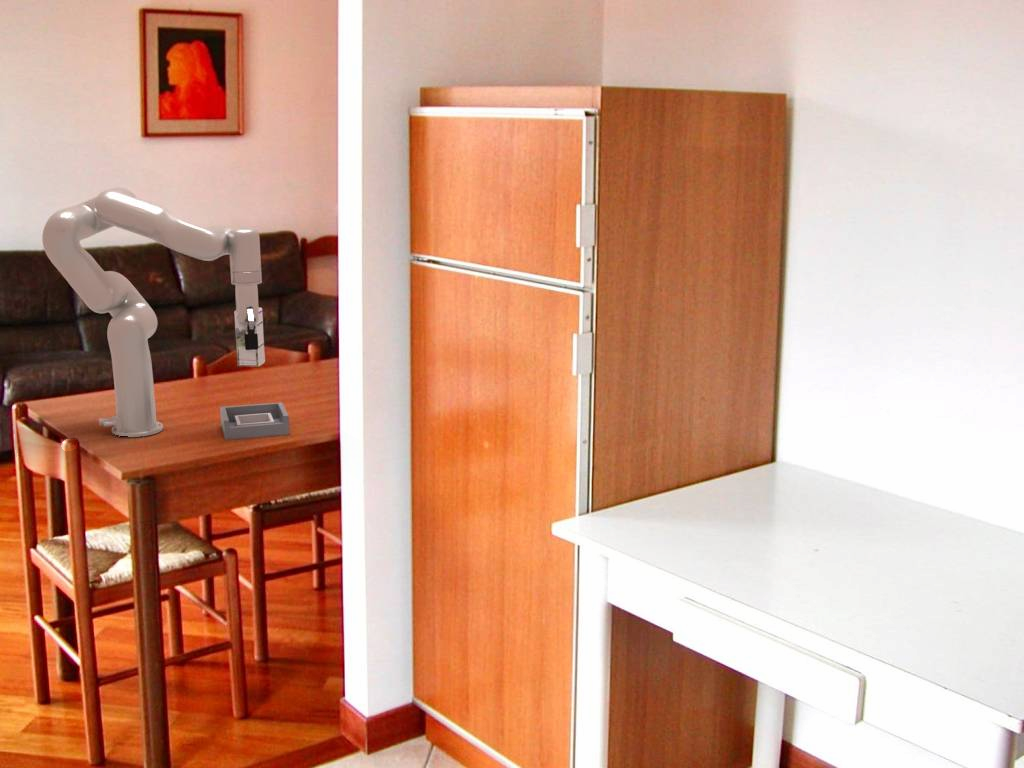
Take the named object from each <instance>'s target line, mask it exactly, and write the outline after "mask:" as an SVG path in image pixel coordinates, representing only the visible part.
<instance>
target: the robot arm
mask: <svg viewBox="0 0 1024 768" xmlns="http://www.w3.org/2000/svg"><path fill="white" fill-rule="evenodd" d="M114 227H116V228H119V229H122V230H123V231H128V232H131V233H133V234H137V235H139V236H142V237H145V238H147V239H151V240H153V241H155V242H156V243H158V244H160V245H162V246H164V247H166V248H168V249H170V250H173V251H175V252H177V253H180V254H183V255H186V256H188V257H192V258H194V259H197V260H201V261H204V262H205V261H208V262H211V261H214V260H217V259H219V258H220V257H223V256H226V255H229V266H230V283H231V285H234V286H235V288H234V289H235V309H237V312H238V323H239V324H242V323H243V322H244V325H245V334H244V336H245V349H246V350H256V349H258V334H257V329H256V323H257V322H258V308H259V289H258V285H259V284H262V283H263V279H262V277H263V276H262V261H261V243H260V242H261V241H260V232H259V230H258V229H256V228H254V227H247V226H246V227H236V228H235V227H234V228H233V227H226V226H224V227H223V226H216V225H215V226H209V227H208V228H202V227H198V226H196V225H193V224H189V223H188V222H184V221H183V220H180V219H178V218H177V217H175V216H174V215H173V214H172V213H171V212H170V211H169V210H168V209H167V208H166V207H164V206H162V205H159V204H156V203H153V202H151V201H147V200H145V199H142V198H139V197H136V194H134V193H133V191H131V190H130V189H128V188H125V187H113V188H109V189H106V190H103V191H101V192H100V193H99V194H98V195H97V196H95V197H93V198H91V199H88V200H85V201H82V202H80V203H78V204H76V205H72V206H69V207H65V208H62V209H60V210H57V211H56V212H54V213H53V214H52V215H50V216H49V218H48V219H47V220H46V222H45V225H44V228H43V230H42V236H41V237H42V238H41V239H42V241H41V242H42V246H43V250H44V252H45V254H46V256H47V258H48V259H49V260H50V262H51V264H53V266H54V267H55V268H56V269H57V271H58V272H59V273H60V274H61V276H62V277H63V278H64V279H65V280H66V281H67V283H68V284H69V286H70V287H71V288H72V289H73V290H74V292H75V293H76V294H77V295H78V296H79V298H80V299H81V300H82V301H83V303H84V304H85V305H86V306H87V308H89V309H90V310H91V311H92V312H94V313H97V314H107V313H109V314H110V316H111V317H112V318H111V320H110V321H109V323H108V326H107V330H106V331H107V332H106V333H107V335H106V336H107V341H108V346H109V350H110V356H111V367H112V374H113V384H114V385H113V386H114V397H115V407H116V413H115V415H112V416H111V417H100V418H99V417H98V425H99V427H102V426H103V427H104V428H105V427H106V428H107V427H108V428H109V427H112V428H111V434H112V435H114V434H115V435H114V436H116V435H119V436H118V437H120V436H128V437H127V438H139V437H141V436H142V437H147V436H153V435H156V434H158V433H160V432H161V431H163V429H164V424H163V423H162V422H160V421H158V420H157V414H156V401H155V389H154V375H153V366H152V365H153V364H152V358H151V357H152V356H151V351H150V345H149V340H148V339H149V338H151V337H152V336H153V335H154V334H155V333H156V331H157V328H158V317H157V314H156V313H155V311H154V310H153V308H152V307H151V306H150V304H149V303H148V302H147V301H146V300H145V298H144V297H143V296H142V295H141V294H140V292H139V291H138V289H137V288H136V287H135V286H134V285H133V284H132V283H131V281H129V279H128V278H127V277H125V275H123V274H121V273H119V272H116V271H113V270H108V271H105V270H104V269H103V268H102V267H101V266H100V265H99V264H98V262H97V260H95V258H94V257H93V256H92V255H91V254H90V253H89V252H88V251H87V250H86V249H84V247H83V246H82V245H81V242H80V241H82V240H85V239H88V238H90V237H92V236H94V235H97V234H99V233H101V232H104V231H106V230H108V229H111V228H114ZM247 313H248V314H247ZM253 315H254V317H255V318H256V319H254V317H253ZM247 320H249V322H246V321H247ZM247 325H248V326H247Z"/></svg>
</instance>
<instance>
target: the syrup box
mask: <svg viewBox="0 0 1024 768" xmlns="http://www.w3.org/2000/svg"><path fill="white" fill-rule="evenodd" d="M235 309H236V308H235ZM233 313H234V328H235V330H234V331H235V343H236V344H235V345H236V346H235V347H236V359H237V363H236V364H237V367H255V368H256V367H260V366H262V365H263V364H264V363H265V362H266V357H265V356H266V355H265V353H266V352H265V340H264V339H265V338H264V337H265V336H264V317H263V316H264V315H263V308H262V307H258V322H257V323H256V329H257V334H258V349H256V350H246V349H245V336H244V334H245V325H244V322H243V323H242V324H239V323H238V312H237V309H236V310H234V311H233ZM247 314H248V313H247ZM253 317H254V315H253ZM254 319H256V318H255V317H254ZM246 322H249V320H247V321H246ZM247 326H248V325H247Z"/></svg>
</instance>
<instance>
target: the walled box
mask: <svg viewBox="0 0 1024 768" xmlns="http://www.w3.org/2000/svg"><path fill="white" fill-rule="evenodd" d="M219 409H220V423H221V426H220V427H221V429H222V433H223V437H224V440H225V441H230V440H239V439H241V440H242V439H252V438H264V437H274V436H275V437H277V436H288V435H290V423H289V421H290V420H289V414H288V412H287V410H286V407H285V406H284V403H283V402H282V401H281V402H280V401H279V402H267V403H257V404H254V403H253V404H242V405H241V404H240V405H229V406H227V405H226V406H220V408H219Z"/></svg>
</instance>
